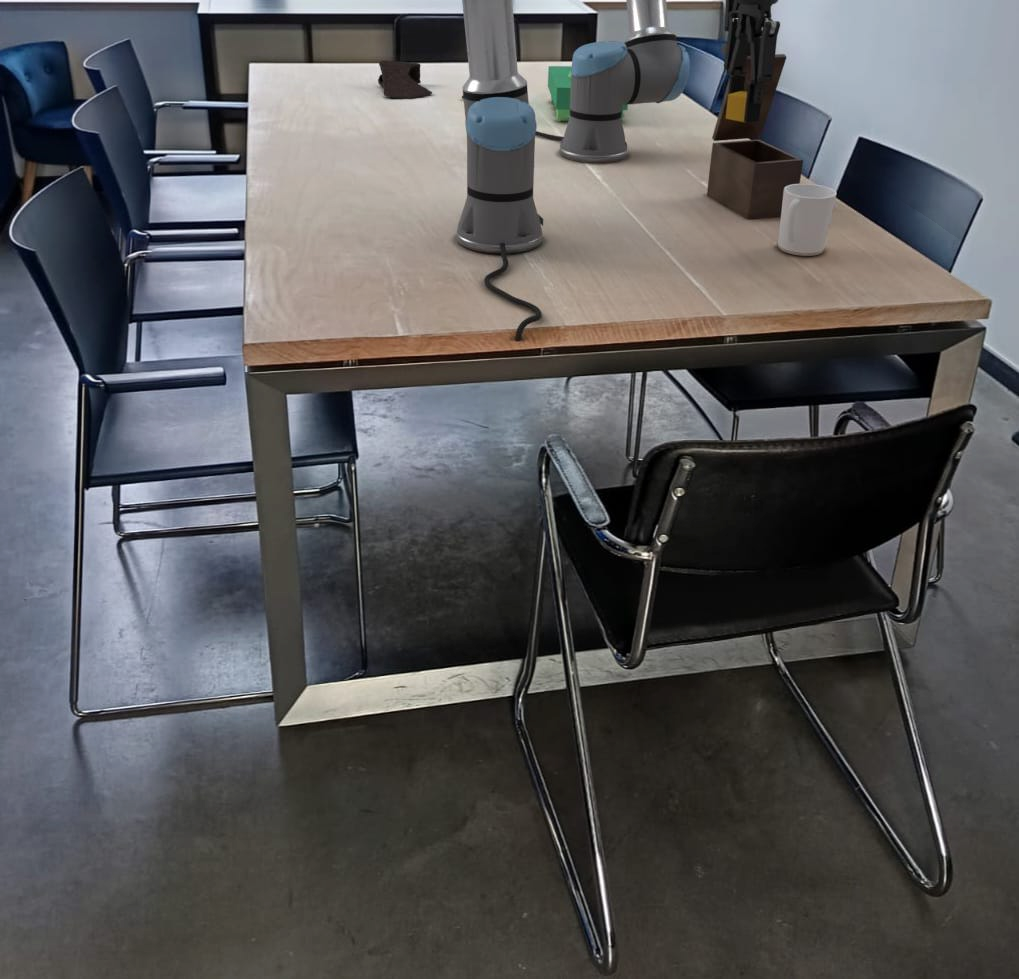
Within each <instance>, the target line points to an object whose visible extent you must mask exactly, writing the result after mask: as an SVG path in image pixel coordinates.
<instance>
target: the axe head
mask: <svg viewBox="0 0 1019 979" xmlns="http://www.w3.org/2000/svg"><path fill="white" fill-rule="evenodd" d="M378 66H379V68H380V72H381V74H379V75H378V79H377V84H378V85H379V86H380V87H381V88H382V89H383V95H384V96H385V97H388V98H394V99H395V98H396V99H403V98H405V99H406V98H407V99H411V98H418V97H425V96H429V95H432V94H433V91H431V90H430V89H428V88H427V87H425V86H422V85H421V84H422V82H421V63H419V62H410V61H408V62H407V61H397V60H388V59H387V60H380V61H379V62H378Z"/></svg>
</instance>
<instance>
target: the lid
mask: <svg viewBox="0 0 1019 979" xmlns="http://www.w3.org/2000/svg"><path fill="white" fill-rule="evenodd" d="M726 45H727V43H723V44H722V45H721V49H720V50H721V51H720V52H721V54H722V55H723V56H725V52H726ZM786 61H787V55H786V54H785V53H778V54H777V53H775V62H774V72H773V80H772V82H767V83H765V84H764V89H763V97H762V102H761V109H760V117H759V121H754V122H741V121H736V120H730V119H726V111H727V102H728V92H729V81H730V77H728V82H727V85H726V88H725V91H724V95H723V99H722V101H721V106H720V109H719V112H718V116H717V119H716V123H715V127H714V130H713V133H712V137H711V139H712V140H713V141H714V142H719V141H720V142H723V141H736V140H749V139H761V137H762V135H763V134H762V133H763V130H764V128H765V125H766V121H767V118H768V115H769V113H770V109H771V106H772V103H773V100H774V97H775V94H776V91H777V88H778V85H779V81H780V79H781V76H782V73H783V70H784V66H785V63H786ZM744 70H745V71H746V72H747V73H746V74H743V75H740V76H745V84H744V91H745V92H747V89H748V81H751V56H747V60H746V64H745V67H744Z"/></svg>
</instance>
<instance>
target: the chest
mask: <svg viewBox="0 0 1019 979" xmlns="http://www.w3.org/2000/svg"><path fill="white" fill-rule="evenodd" d="M803 164H804V159H802V158H800V157H798V156H796V155H794V154H791V153H789V152H787V151H785V150H783V149H780V148H779V147H776V146H774V145H773V144H770V143H767V142H766V141H763V140H761V139H760V138H756V139H744V140H730V141H720V142H719V141H717V142H712V147H711V154H710V164H709V173H708V182H707V190H706V191H707V192H706V196H708V197H709V198H711V199H712V200H714V201H716V202H717V203H719V204H721V205H723V206H725V207H726V208H728V209H730V210H731V211H733V212H735V213H736V214H738V215H740V216H742V218H745V219H747V220H753V219H754V220H755V219H763V218H773V217H781V212H782V202H783V192H784V187H786V186H788V185H792V184H801V177H802V172H803V166H804V165H803Z"/></svg>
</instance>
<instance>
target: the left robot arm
mask: <svg viewBox="0 0 1019 979" xmlns="http://www.w3.org/2000/svg"><path fill="white" fill-rule="evenodd" d="M735 1H736V2H737V3H740V6H739V9H738V11H730V12H729V29H728V31H727V39H726V44H727V45H726V52H725V55H724V62H723V69H724V71H727V70H728V73H727V74H728V76H729V78H730V81H729V80H728V81H729V92H728V94H732V93H735V92H739V91H744V84H745V76H740V75H743V74H746V73H747V72H746V71H745V70H744V67H745V64H746V60H747V56H748V53H749V49H750V47H751V81H748V89H747V98H746V106H745V115H744V122H754V121H759V117H760V109H761V102H762V97H763V89H764V84H765V83H767V82H772V80H773V72H774V62H775V54H776V51H777V43H778V42H777V41H778V34H779V32H780V28H781V22H780V21H779V20H777V21H776V20H775V21H774V20H773V18H772V6H773V5H775V4H777V3H778V2H779V0H735ZM461 3H462V4H461V5H462V13H463V22H464V24H463V25H464V32H465V33H464V34H465V43H466V53H467V63H468V73H469V76H468V78H467V80H466V81H465V83H464V84H463V85H462V96H463V99H462V100H463V107H464V117H465V118H464V119H465V120H464V122H465V123H464V124H465V131H466V192H467V193H466V198H465V202H464V205H463V209H462V211H461V214H460V218H459V220H458V224H457V228H456V241H457V243H458V244H459V245H461V246H462V247H464V248H466V249H468V250H470V251H475V252H479V253H486V254H497V255H499V254H500V256H501V261H502V265H501V267H500V268H498V269H496V270H494V271H492V272H490V273H488V274H487V275H485V276H484V280H483V283H484V285H485V287H486V288H487V289H488V290H489V291H491V292H493V293H495V294H496V295H498V296H500V297H502V298H503V299H505V300H507V301H509V302H510V303H514V304H516V305H518V306H521V307H523V308H527V309H528V310H531V311H532V312H533V313H534V315H531V316H528V317H527V318H525V319H524V320H522V321H521V322H520V323H519V325H518V326H517V329H516V331H515V336H514V341H515V342H521V340H522V336H523V332H524V330H525V328H526V327H527V326H528V325H530V324H532V323H535V322H538V321H539V320H540V319H542V316H543V313H542V311H541V309H540V308H539V306H537V305H535V304H533V303H532V302H529V301H526V300H523V299H520V298H519V297H515V296H514V295H511V294H509V293H507V292H506V291H504V290H502V289H500V288H498V287H496V286H495V285H493V284H492V283H491V280H492V279H494V278H495V277H497V276H500V275H502V274H504V273H505V272H506V271H507V270H508V268H509V258H508V256H507V255H508V254H517V253H524V252H527V251H530V250H533V249H536V248H538V247H539V246H540V245H541V244H542V243H543V229H542V227H543V226H544V218H543V217H542V216H541V215H540V214H539V212H538V210H537V206H536V204H535V199H534V183H535V181H534V180H535V148H536V147H535V146H536V135H535V133H536V131H537V128H538V127H537V121H536V112H535V110H534V108H533V107H532V106H531V105H530V104H529V90H528V81H527V80H526V78H524V77H523V76H522V75H521V74H520V73H519V70H518V69H519V68H518V61H517V60H518V59H517V45H516V32H515V30H516V29H515V19H514V8H513V0H461ZM736 24H737V25H736ZM755 37H757V38H755ZM730 61H731V62H730ZM517 580H518V575H516V574H515V573H514V572H511V581H517Z"/></svg>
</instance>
